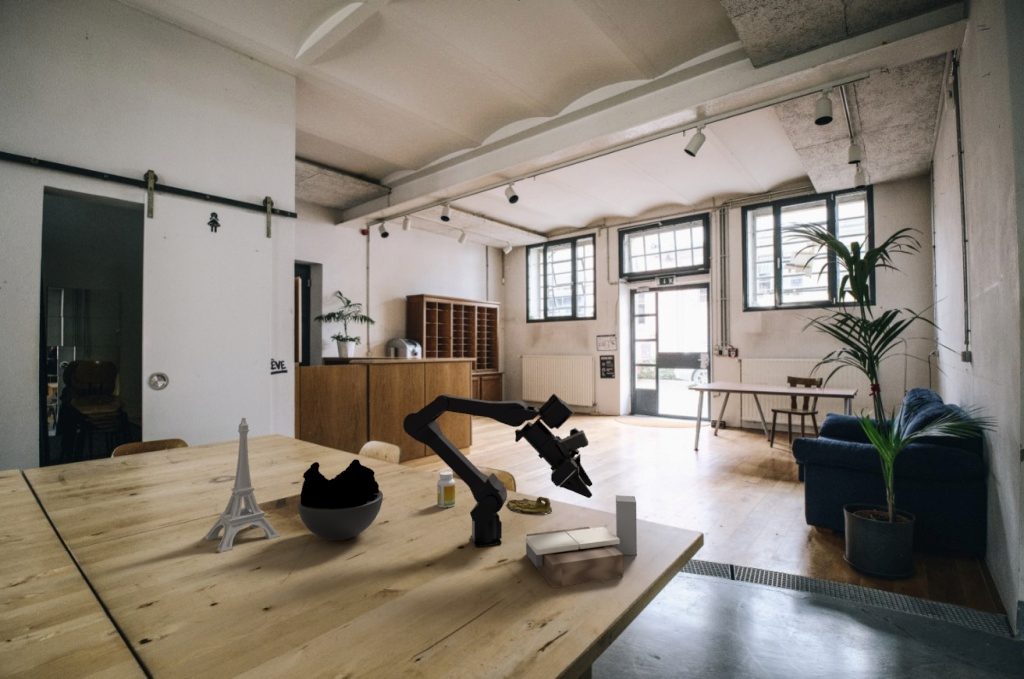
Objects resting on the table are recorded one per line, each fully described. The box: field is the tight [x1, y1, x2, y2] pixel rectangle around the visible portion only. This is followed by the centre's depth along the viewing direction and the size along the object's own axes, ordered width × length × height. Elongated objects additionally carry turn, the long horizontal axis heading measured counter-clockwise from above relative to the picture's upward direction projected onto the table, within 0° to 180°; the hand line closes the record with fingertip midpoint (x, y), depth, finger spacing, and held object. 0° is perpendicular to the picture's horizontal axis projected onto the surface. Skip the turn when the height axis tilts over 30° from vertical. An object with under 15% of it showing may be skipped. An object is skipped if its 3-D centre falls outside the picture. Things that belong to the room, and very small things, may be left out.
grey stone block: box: [615, 494, 638, 556], centre depth 109 cm, size 4×4×12 cm
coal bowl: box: [297, 458, 384, 541], centre depth 118 cm, size 20×20×19 cm
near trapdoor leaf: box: [524, 532, 579, 567], centre depth 101 cm, size 9×7×4 cm
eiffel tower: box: [203, 417, 281, 554], centre depth 119 cm, size 13×13×30 cm
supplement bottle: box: [436, 471, 456, 509], centre depth 142 cm, size 5×5×10 cm
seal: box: [506, 496, 553, 515], centre depth 139 cm, size 9×5×15 cm
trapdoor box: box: [526, 526, 624, 588], centre depth 102 cm, size 16×16×4 cm
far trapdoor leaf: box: [566, 526, 620, 551], centre depth 104 cm, size 9×7×4 cm
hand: (591, 490), depth 111 cm, fingers open, 9 cm apart
